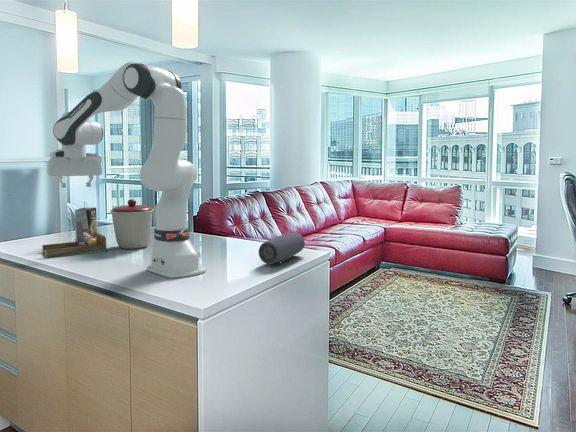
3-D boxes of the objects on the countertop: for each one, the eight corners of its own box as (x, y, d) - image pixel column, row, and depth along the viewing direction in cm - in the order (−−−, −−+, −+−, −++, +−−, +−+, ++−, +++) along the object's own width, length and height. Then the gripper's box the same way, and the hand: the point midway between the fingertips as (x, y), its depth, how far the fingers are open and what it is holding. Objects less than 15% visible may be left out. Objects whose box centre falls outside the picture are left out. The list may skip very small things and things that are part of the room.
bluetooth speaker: (285, 253, 184) (285, 230, 182) (305, 256, 180) (306, 232, 178) (256, 265, 164) (256, 239, 162) (278, 269, 160) (279, 241, 158)
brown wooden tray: (106, 251, 186) (105, 235, 185) (47, 257, 173) (46, 240, 172) (99, 246, 195) (98, 230, 194) (42, 252, 182) (41, 236, 181)
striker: (85, 249, 182) (83, 222, 181) (79, 250, 181) (77, 223, 179) (80, 245, 189) (79, 220, 187) (74, 246, 187) (73, 220, 186)
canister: (129, 253, 182) (127, 202, 179) (102, 247, 192) (100, 199, 189) (163, 245, 197) (162, 198, 194) (137, 241, 207) (135, 196, 204)
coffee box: (91, 245, 195) (89, 209, 193) (76, 245, 195) (74, 209, 193) (98, 241, 204) (96, 207, 202) (84, 241, 204) (82, 207, 202)
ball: (92, 236, 185) (86, 244, 184) (100, 242, 187) (93, 250, 186) (90, 235, 189) (83, 242, 187) (98, 240, 191) (91, 248, 190)
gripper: (99, 153, 188) (101, 185, 190) (45, 152, 176) (47, 187, 178) (103, 153, 183) (104, 186, 185) (47, 152, 171) (50, 188, 173)
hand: (76, 187), depth 181 cm, fingers open, 8 cm apart
